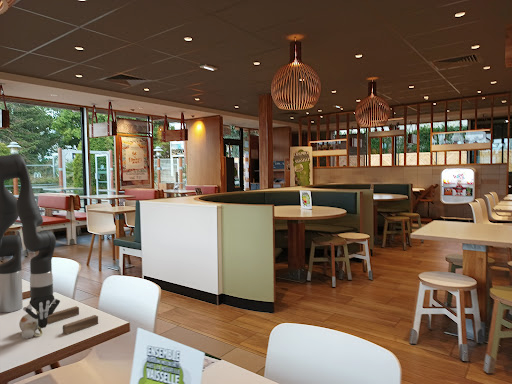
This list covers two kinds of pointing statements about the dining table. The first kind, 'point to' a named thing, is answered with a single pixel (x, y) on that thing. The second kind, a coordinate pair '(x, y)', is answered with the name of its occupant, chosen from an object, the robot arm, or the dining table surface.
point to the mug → (29, 326)
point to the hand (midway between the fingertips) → (42, 327)
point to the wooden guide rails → (74, 325)
